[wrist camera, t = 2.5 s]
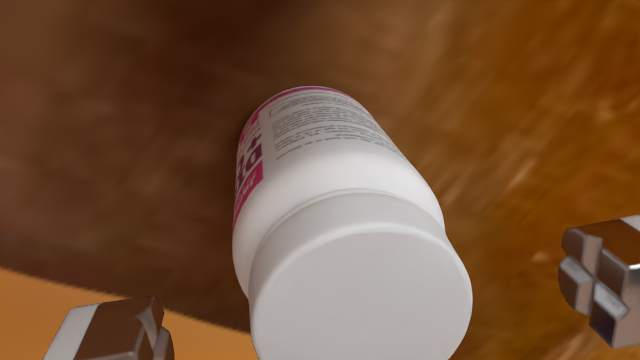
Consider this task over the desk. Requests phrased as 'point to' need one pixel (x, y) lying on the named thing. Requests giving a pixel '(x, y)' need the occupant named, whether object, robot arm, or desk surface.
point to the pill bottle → (341, 238)
